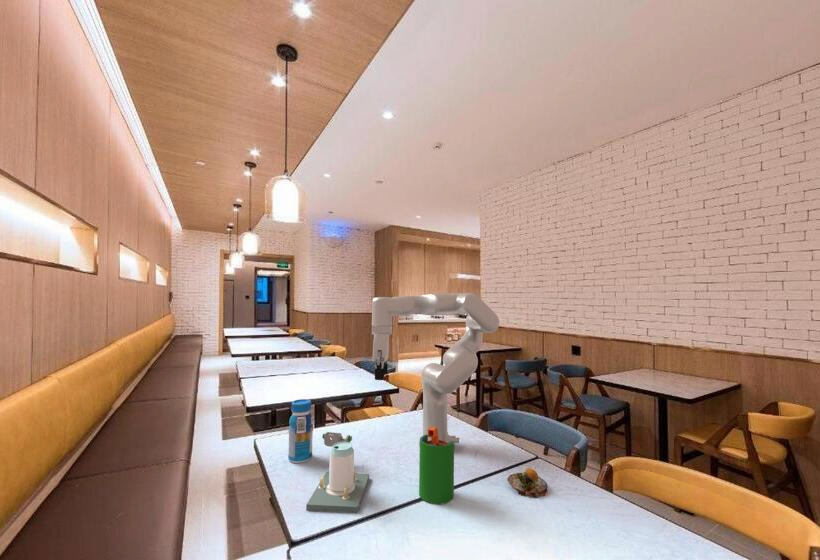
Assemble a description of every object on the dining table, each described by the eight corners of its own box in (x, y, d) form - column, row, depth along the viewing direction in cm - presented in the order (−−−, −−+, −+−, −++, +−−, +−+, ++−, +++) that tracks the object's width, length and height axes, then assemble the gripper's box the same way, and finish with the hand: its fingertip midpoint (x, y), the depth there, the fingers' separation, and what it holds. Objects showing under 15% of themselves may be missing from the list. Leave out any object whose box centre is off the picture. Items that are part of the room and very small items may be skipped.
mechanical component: (349, 467, 121) (349, 437, 121) (321, 464, 123) (321, 434, 123) (352, 463, 124) (352, 434, 124) (324, 460, 126) (325, 431, 126)
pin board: (369, 478, 113) (369, 465, 114) (357, 512, 95) (357, 497, 96) (326, 476, 114) (326, 464, 114) (306, 510, 96) (306, 495, 97)
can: (342, 496, 100) (342, 452, 101) (323, 489, 104) (324, 447, 105) (358, 485, 106) (358, 444, 107) (340, 478, 110) (341, 439, 111)
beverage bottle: (282, 461, 125) (284, 403, 126) (298, 451, 133) (299, 397, 134) (302, 465, 122) (303, 406, 123) (317, 455, 129) (318, 399, 130)
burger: (519, 474, 118) (519, 451, 118) (554, 488, 109) (554, 463, 110) (499, 487, 109) (499, 462, 110) (536, 503, 101) (536, 476, 101)
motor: (456, 491, 107) (456, 422, 108) (449, 507, 98) (449, 433, 99) (423, 484, 110) (424, 418, 111) (414, 500, 101) (415, 428, 102)
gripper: (375, 328, 141) (375, 371, 140) (367, 332, 124) (366, 382, 123) (394, 328, 141) (393, 372, 140) (389, 332, 124) (388, 382, 123)
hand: (381, 376), depth 132 cm, fingers open, 9 cm apart
